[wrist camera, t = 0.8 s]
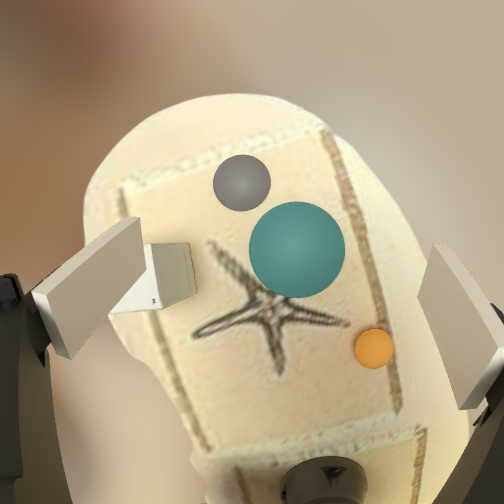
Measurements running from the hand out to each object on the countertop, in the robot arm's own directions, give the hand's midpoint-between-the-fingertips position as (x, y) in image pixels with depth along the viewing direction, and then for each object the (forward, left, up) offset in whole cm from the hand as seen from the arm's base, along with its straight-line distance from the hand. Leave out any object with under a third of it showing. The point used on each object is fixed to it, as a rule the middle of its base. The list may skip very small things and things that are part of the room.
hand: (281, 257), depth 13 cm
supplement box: (+8, +15, -30) cm, 35 cm away
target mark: (-1, -1, -30) cm, 30 cm away
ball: (-18, -1, -27) cm, 33 cm away
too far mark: (+11, -1, -30) cm, 32 cm away
